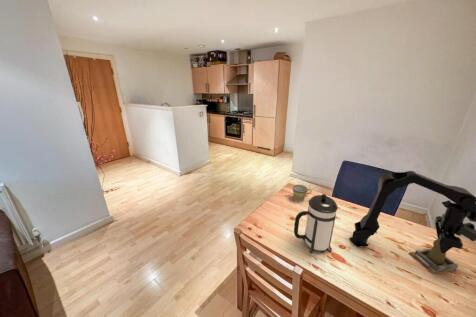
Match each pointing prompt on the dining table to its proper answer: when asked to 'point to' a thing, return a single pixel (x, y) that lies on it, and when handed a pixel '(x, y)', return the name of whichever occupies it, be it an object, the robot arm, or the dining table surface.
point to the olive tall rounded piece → (436, 254)
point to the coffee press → (318, 222)
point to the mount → (429, 265)
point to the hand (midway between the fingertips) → (440, 246)
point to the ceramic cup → (300, 192)
